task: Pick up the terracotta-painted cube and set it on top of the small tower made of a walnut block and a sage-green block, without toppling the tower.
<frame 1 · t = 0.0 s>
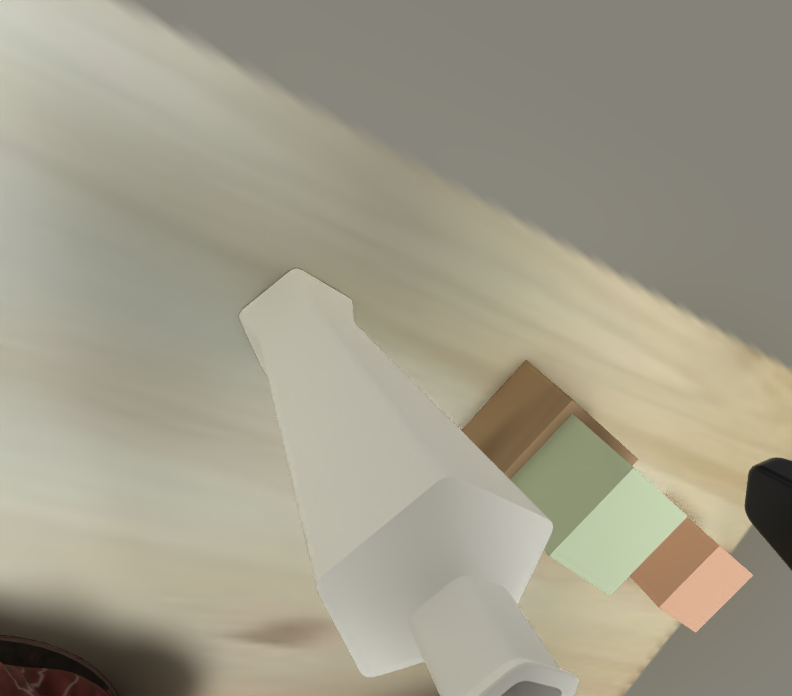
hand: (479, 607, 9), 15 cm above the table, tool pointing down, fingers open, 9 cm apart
white faceted vase: (293, 327, 22), on the table
terracotta block: (651, 535, 34), on the table
walnut block: (517, 430, 28), on the table, touching sage block
sage block: (563, 476, 25), point 3 cm above the table, touching walnut block
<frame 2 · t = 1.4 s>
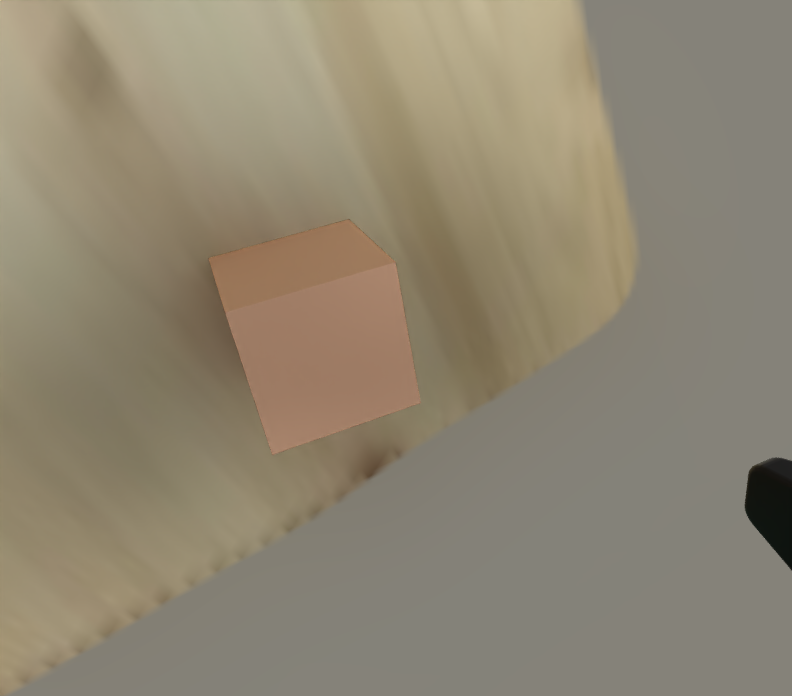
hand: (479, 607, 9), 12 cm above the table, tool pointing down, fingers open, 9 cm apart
terracotta block: (297, 301, 19), on the table
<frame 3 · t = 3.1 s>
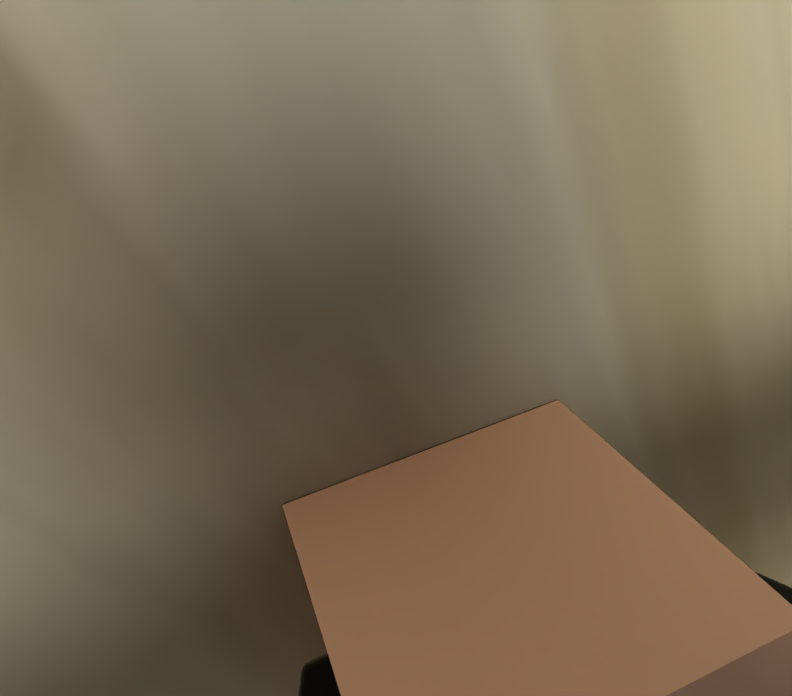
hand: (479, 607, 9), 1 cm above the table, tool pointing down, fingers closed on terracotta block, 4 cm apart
terracotta block: (447, 554, 10), on the table, touching gripper
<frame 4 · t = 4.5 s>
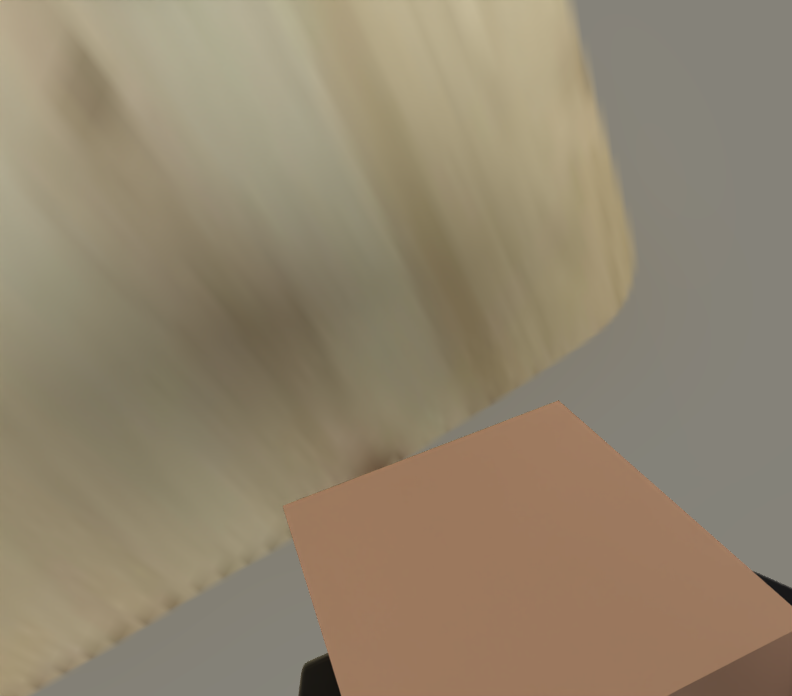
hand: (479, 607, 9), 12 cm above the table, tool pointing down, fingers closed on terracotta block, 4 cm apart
terracotta block: (447, 555, 10), point 11 cm above the table, touching gripper
when the fingers open (9 cm above the table, at t = 6.3 s): terracotta block drops 1 cm, resting on sage block.
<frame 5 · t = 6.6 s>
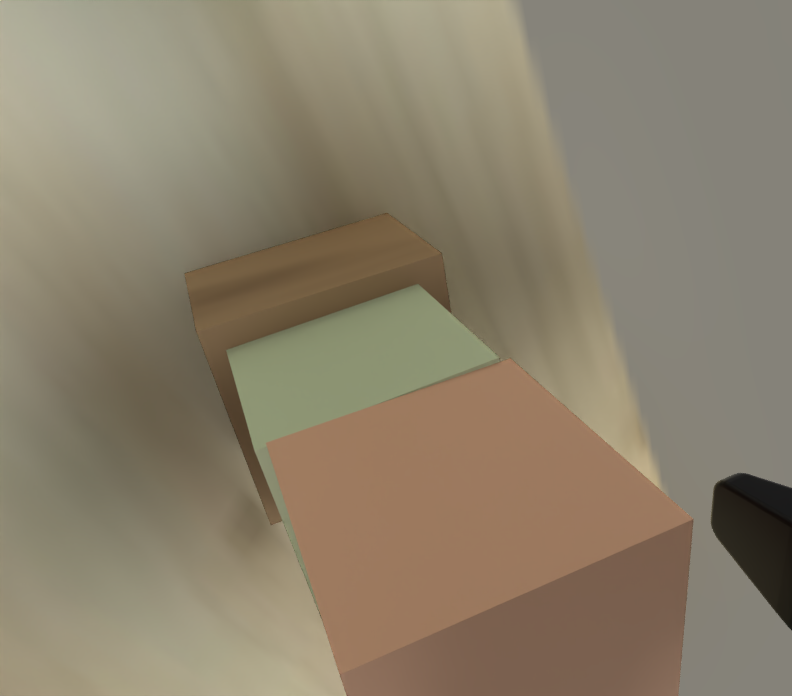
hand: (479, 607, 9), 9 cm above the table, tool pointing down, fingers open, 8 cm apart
terracotta block: (413, 496, 11), point 7 cm above the table, touching sage block
walnut block: (313, 331, 17), on the table, touching sage block
sage block: (348, 397, 14), point 3 cm above the table, touching terracotta block, walnut block
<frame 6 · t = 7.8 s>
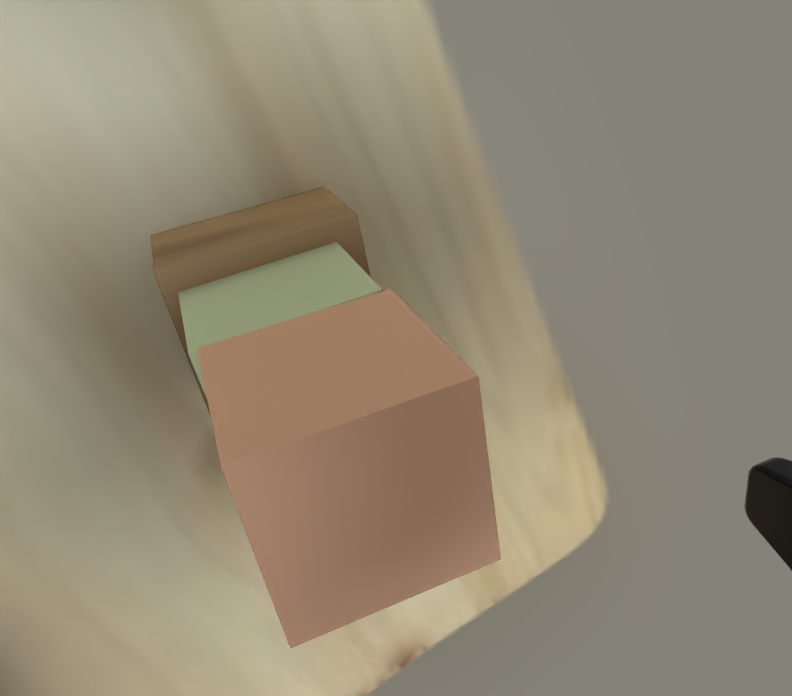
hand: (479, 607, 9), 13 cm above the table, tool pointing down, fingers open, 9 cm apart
terracotta block: (319, 399, 14), point 7 cm above the table, touching sage block
walnut block: (263, 288, 20), on the table, touching sage block
sage block: (282, 336, 17), point 3 cm above the table, touching terracotta block, walnut block
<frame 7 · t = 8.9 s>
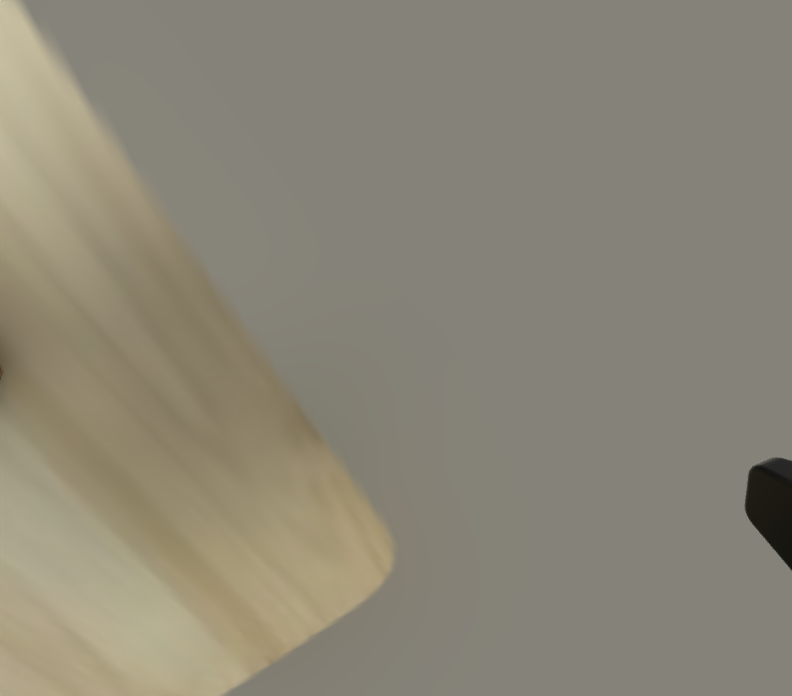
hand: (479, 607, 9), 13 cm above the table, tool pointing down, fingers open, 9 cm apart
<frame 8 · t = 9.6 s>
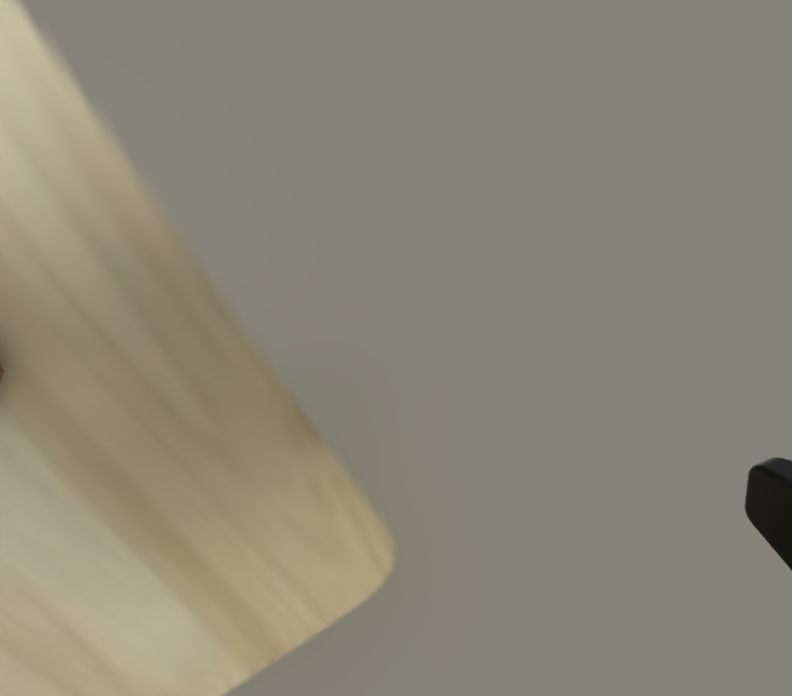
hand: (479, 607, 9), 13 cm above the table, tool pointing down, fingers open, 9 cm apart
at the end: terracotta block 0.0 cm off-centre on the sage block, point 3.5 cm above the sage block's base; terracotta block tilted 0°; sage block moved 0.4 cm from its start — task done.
